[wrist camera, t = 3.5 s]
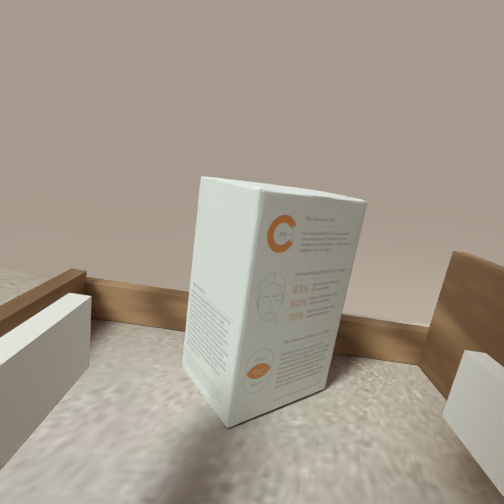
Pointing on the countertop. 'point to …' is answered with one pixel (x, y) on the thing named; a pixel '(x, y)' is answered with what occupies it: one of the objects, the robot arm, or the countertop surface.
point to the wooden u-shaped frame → (350, 327)
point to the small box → (266, 293)
